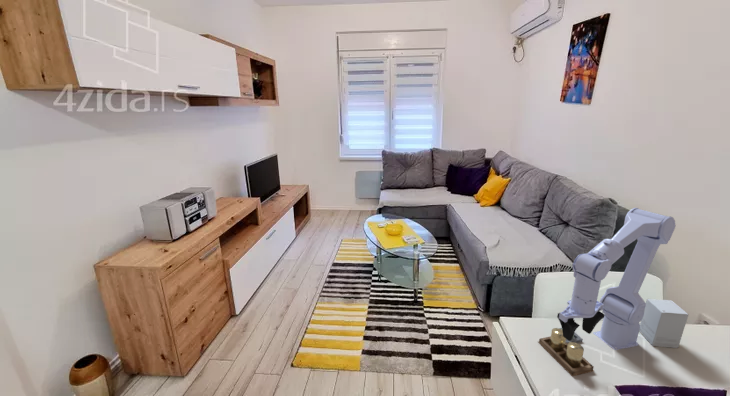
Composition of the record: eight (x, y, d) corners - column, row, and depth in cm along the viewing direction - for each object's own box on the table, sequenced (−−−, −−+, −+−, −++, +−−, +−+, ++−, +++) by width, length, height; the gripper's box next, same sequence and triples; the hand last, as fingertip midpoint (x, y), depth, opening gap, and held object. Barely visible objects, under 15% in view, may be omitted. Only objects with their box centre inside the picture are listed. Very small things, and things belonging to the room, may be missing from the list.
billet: (583, 366, 93) (587, 349, 91) (573, 370, 92) (577, 353, 90) (571, 356, 97) (574, 340, 95) (561, 360, 95) (564, 344, 94)
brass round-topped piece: (557, 342, 102) (559, 327, 101) (567, 351, 99) (570, 335, 97) (546, 344, 102) (548, 329, 100) (555, 354, 98) (558, 338, 96)
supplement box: (679, 348, 99) (690, 314, 95) (651, 346, 100) (661, 312, 96) (663, 332, 106) (672, 299, 102) (637, 329, 107) (646, 297, 103)
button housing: (567, 330, 108) (567, 326, 108) (581, 342, 103) (582, 339, 102) (551, 333, 107) (552, 329, 107) (566, 346, 101) (566, 342, 101)
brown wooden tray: (557, 338, 105) (558, 334, 104) (594, 372, 92) (595, 367, 91) (537, 343, 103) (537, 338, 103) (571, 378, 90) (572, 372, 90)
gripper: (589, 282, 94) (582, 320, 99) (552, 293, 90) (546, 332, 94) (614, 295, 88) (605, 335, 92) (575, 307, 84) (567, 349, 88)
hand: (576, 334), depth 93 cm, fingers open, 7 cm apart
